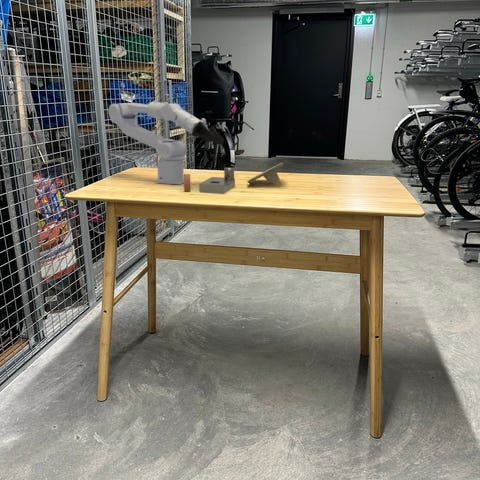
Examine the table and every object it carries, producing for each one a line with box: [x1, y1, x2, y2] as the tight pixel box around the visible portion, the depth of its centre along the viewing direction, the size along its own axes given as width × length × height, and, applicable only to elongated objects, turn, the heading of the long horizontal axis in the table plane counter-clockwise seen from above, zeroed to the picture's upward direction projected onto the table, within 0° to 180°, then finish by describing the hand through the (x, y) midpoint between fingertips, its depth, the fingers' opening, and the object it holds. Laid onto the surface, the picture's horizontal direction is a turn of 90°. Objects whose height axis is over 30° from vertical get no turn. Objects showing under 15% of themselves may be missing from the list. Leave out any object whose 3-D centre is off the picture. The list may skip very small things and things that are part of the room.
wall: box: [246, 162, 284, 184], centre depth 162 cm, size 16×9×15 cm
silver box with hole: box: [198, 167, 236, 195], centre depth 152 cm, size 9×14×7 cm, turn 165°
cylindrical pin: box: [183, 173, 191, 193], centre depth 148 cm, size 2×2×6 cm
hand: (218, 140), depth 149 cm, fingers open, 7 cm apart
